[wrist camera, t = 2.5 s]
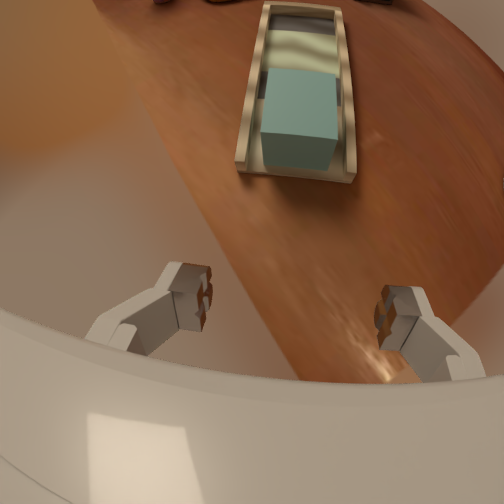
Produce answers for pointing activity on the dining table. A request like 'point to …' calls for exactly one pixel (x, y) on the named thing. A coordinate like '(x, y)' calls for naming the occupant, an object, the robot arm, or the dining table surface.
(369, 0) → the letter holder
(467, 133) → the dining table surface
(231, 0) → the croissant
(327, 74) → the teal block
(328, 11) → the trap lane
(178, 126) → the dining table surface
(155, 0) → the beverage can
